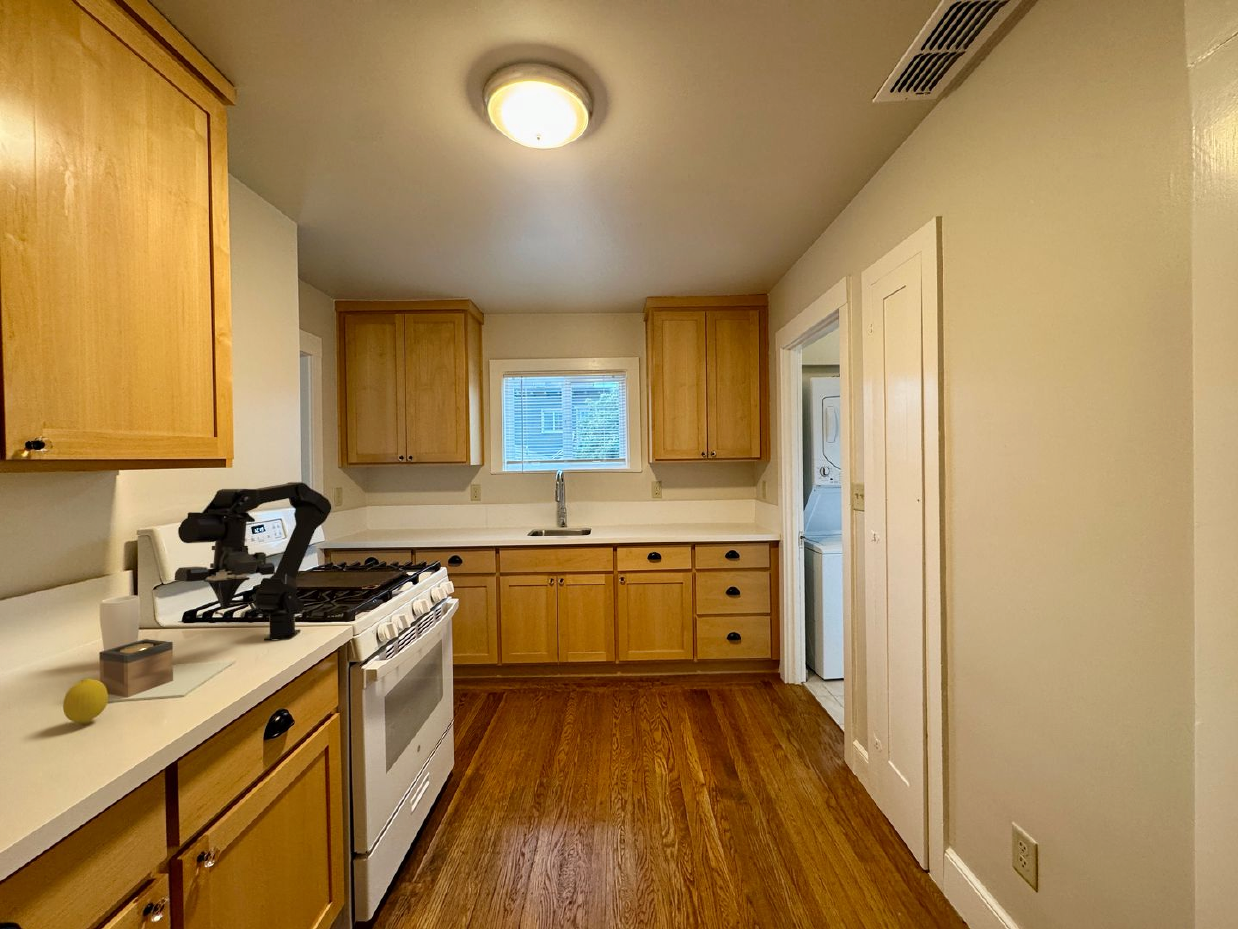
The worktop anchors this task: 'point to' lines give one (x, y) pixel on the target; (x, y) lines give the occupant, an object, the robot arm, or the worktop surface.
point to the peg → (136, 648)
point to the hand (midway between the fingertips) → (224, 608)
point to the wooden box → (136, 668)
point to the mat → (180, 681)
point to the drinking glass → (119, 621)
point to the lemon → (85, 701)
